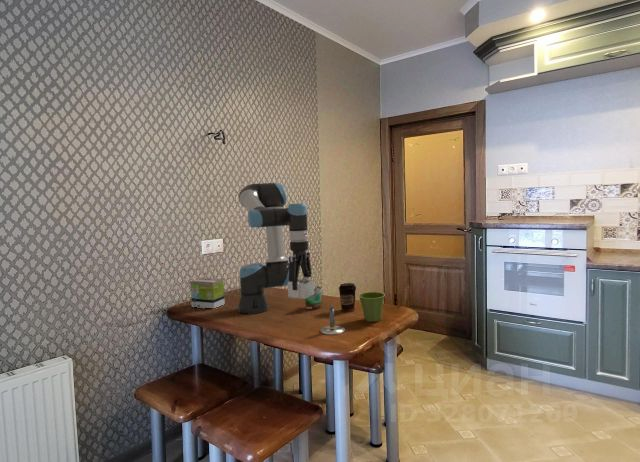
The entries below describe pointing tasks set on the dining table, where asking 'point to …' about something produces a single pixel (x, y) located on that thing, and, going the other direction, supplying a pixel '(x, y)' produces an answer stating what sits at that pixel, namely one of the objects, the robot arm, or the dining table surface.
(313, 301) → the food container
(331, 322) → the post
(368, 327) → the dining table surface
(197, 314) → the dining table surface
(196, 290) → the tea box
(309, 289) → the collar
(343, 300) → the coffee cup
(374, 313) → the plant pot
